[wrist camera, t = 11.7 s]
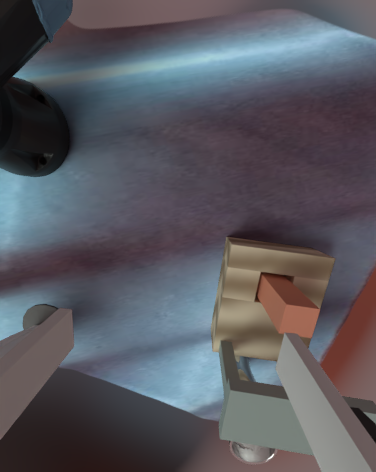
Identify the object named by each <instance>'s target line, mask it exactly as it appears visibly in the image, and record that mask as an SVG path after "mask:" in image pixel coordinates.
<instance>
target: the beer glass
mask: <svg viewBox="0 0 376 472" xmlns="http://www.w3.org/2000/svg"><path fill="white" fill-rule="evenodd" d="M235 359H236V364H237V368H238V373H239V377H240V380H245V381H251V382H256V380H255V378H254V376H253V374H252V372H251V369H250V364H249V357H245V356H239V355H235ZM229 444H230V450H231V452H232V454H233V455H234V456H235V457H236V458H237V459H238V460H240V461H242V462H244V463H248V464H262V463H265V462H268V461H269V460H271V459H272V458H273V457H274V456H275V455H276V453H277V450H278V449H275V448H269V447H263V446H257V445H252V444H246V443H240V442H234V441H229Z"/></svg>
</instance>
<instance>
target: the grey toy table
mask: <svg viewBox="0 0 376 472" xmlns="http://www.w3.org/2000/svg"><path fill="white" fill-rule="evenodd" d="M219 357H220V365H221V373H222V381H223V389H224V402H223V406H222V411H221V416H220V421H219V433H220V439H223V440H228V441H234V442H240V443H246V444H252V445H257V446H263V447H269V448H275V449H280V450H286V451H292V452H298V453H304V454H309V455H314V454H313V451H312V449H311V447H310V445H309V442H308V440H307V438H306V436H305V434H304V431H303V429H302V427H301V425H300V422H299V420H298V418H297V416H296V413H295V411H294V409H293V407H292V405H291V402H290V400H289V398H288V396H287V393H286V391H285V389H284V387H282V386H276V385H270V384H264V383H258V382H251V381H245V380H240V377H239V373H238V368H237V364H236V359H235V355H234V350H233V346H232V342H228V341H221V340H220V345H219ZM342 397H343V398H344V400H345V401H346V403H347V404H348V405H349V407H354V408H359V409H360V410H362V411H363V412H364V413H365V414H366V415H367V416H368V417H369V418H370V419H371V420H372V421H373V422H374V423H375V424H376V405H375V403H374V402H373V401H369V400H363V399H357V398H350V397H344V396H342Z"/></svg>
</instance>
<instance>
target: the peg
mask: <svg viewBox="0 0 376 472" xmlns="http://www.w3.org/2000/svg"><path fill="white" fill-rule="evenodd" d="M256 295H257V297H258V298H259V300H260V302H261V304H262V305H263V307H264V309H265V310H266V312H267V314H268V316H269V317H270V319H271V321H272V322H273V324H274V326H275V328H276V329H277V331H278V333H280V334H284V333H285V332H286V333H295V334H298V335H299V336H300V337H307V338H312V335H313V332H314V329H315V325H316V322H317V319H318V315H319V312H320V309H319V308H318V307H317V306H316V305H315V304H314V303H313V302H312V301H311V300H310V299H309V298H308V297H307V296H305V295H304V294H303V293H302V292H301V291H300V290H299V289H298V288H297V287H296V286H295V285H294V284H293V283H291V282H290V281H289V280H288V279H287V278H286V277H285V276H284V275H281V274H274V273H267V272H261V273H260V277H259V282H258V287H257V291H256Z"/></svg>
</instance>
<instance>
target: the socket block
mask: <svg viewBox="0 0 376 472" xmlns="http://www.w3.org/2000/svg"><path fill="white" fill-rule="evenodd" d="M334 262H335V258H333V257H331V256H329V255H327V254H324V253H322V252H320V251H318V250H315V249H313V248H307V247H300V246H292V245H285V244H277V243H270V242H263V241H255V240H248V239H240V238H233V237H226V243H225V249H224V254H223V260H222V266H221V272H220V278H219V283H218V289H217V295H216V301H215V307H214V313H213V318H212V324H211V337H212V349H213V352H219V345H220V340H221V341H228V342H232V346H233V350H234V355H239V356H245V357H252V358H258V359H264V360H271V361H278V357H279V353H280V349H281V345H282V341H283V337H284V334H280V333H278V331H277V329H276V328H275V326H274V324H273V322H272V321H271V319H270V317H269V316H268V314H267V312H266V310H265V309H264V307H263V305H262V304H261V302H260V300H259V298H258V297H257V295H256V291H257V287H258V282H259V277H260V273H261V272H267V273H274V274H281V275H284V276H285V277H286V278H287V279H288V280H289V281H290V282H291V283H293V284H294V285H295V286H296V287H297V288H298V289H299V290H300V291H301V292H302V293H303V294H304V295H305V296H307V297H308V298H309V299H310V300H311V301H312V302H313V303H314V304H315V305H316V306H317V307H318V308H319V309H320V308H321V304H322V301H323V298H324V295H325V291H326V288H327V285H328V281H329V278H330V275H331V272H332V268H333V265H334ZM299 337H300V336H299ZM300 338H301V340H302V341H303V342H304V344H305V345H306V347H307V348H308V347H309V344H310V340H311V338H307V337H300Z"/></svg>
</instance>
